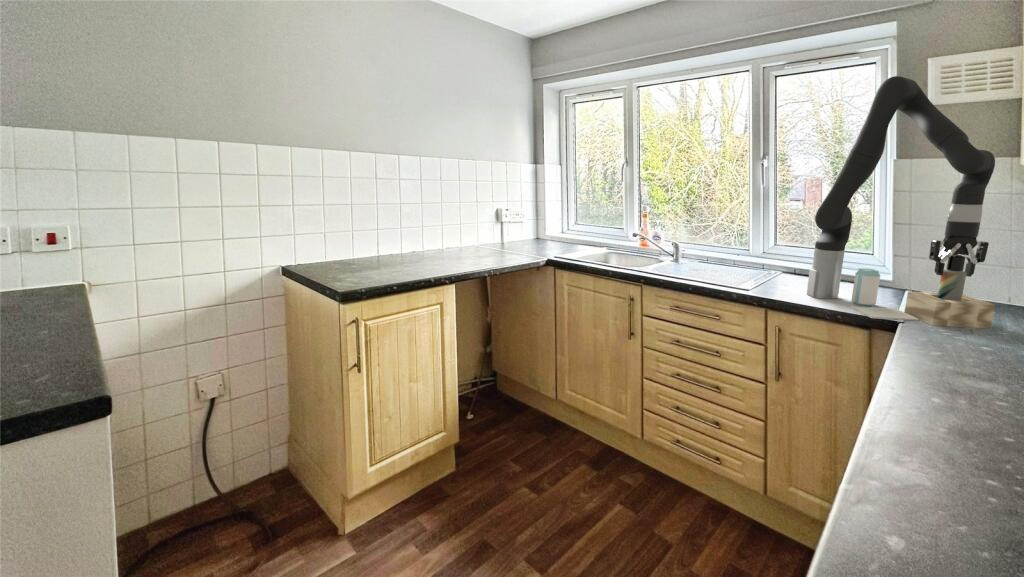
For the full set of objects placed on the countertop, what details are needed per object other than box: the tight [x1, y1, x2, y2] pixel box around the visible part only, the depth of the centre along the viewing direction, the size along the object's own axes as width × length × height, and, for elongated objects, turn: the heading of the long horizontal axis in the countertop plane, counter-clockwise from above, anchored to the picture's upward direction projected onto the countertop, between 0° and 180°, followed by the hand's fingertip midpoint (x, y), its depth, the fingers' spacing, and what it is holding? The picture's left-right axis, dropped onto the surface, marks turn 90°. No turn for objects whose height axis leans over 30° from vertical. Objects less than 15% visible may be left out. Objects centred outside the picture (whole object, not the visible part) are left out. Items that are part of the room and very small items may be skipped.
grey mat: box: [852, 306, 919, 321], centre depth 166 cm, size 13×13×1 cm
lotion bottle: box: [937, 254, 967, 301], centre depth 158 cm, size 6×6×20 cm
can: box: [850, 267, 881, 307], centre depth 179 cm, size 7×7×12 cm
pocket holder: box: [903, 291, 996, 329], centre depth 159 cm, size 15×15×7 cm
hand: (953, 275), depth 157 cm, fingers open, 7 cm apart
